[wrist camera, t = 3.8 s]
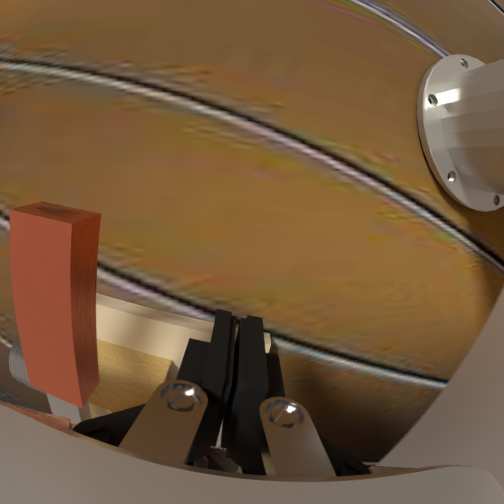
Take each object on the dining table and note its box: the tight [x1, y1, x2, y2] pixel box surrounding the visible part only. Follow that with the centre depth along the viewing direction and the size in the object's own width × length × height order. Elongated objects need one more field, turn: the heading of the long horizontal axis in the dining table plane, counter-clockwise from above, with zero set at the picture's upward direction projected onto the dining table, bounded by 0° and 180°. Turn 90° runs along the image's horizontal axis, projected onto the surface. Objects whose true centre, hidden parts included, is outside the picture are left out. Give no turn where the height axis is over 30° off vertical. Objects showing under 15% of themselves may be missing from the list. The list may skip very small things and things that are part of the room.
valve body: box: [9, 336, 226, 450], centre depth 16 cm, size 19×6×8 cm, turn 77°
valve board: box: [96, 293, 271, 380], centre depth 21 cm, size 19×12×2 cm, turn 77°
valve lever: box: [10, 202, 101, 424], centre depth 10 cm, size 16×3×2 cm, turn 167°
